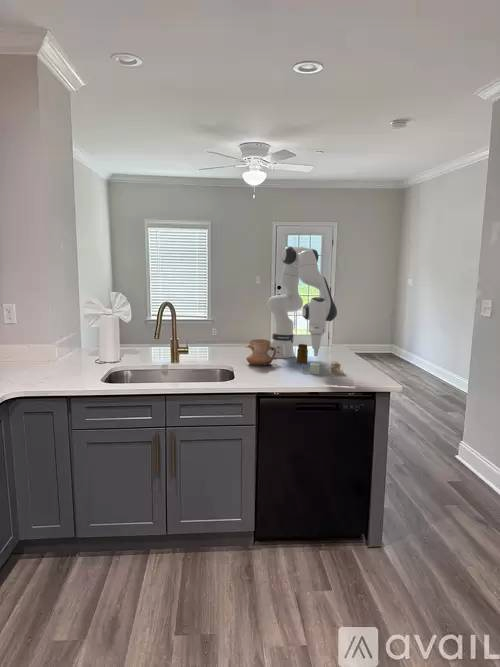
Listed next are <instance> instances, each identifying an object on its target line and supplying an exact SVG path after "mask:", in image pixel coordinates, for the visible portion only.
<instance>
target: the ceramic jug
mask: <svg viewBox="0 0 500 667" xmlns="http://www.w3.org/2000/svg"><path fill="white" fill-rule="evenodd" d="M270 343H271V339H265V338H257V339H256V338H255V339H254V338H253V339H249V344H246V345H245V348H246V349H247V348H249V349H250V350H251V352H252V353H251V354H249V355H248V356H247V357H246V361H247V363H248V364H250V365H253V366H256V367H257V366H259V367H260V366H261V367H263V366H267V365H270V364H271V363H272V362H273V361H274V359H275V358H274V356H275V355H276V348H275V347H274V346H270ZM272 348H273V349H274V354H273V356H272V357H271V356H269V355H268V354H267V352H268V350H270V349H272Z"/></svg>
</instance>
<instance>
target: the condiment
mask: <svg viewBox="0 0 500 667" xmlns="http://www.w3.org/2000/svg"><path fill="white" fill-rule="evenodd" d="M296 352H297V353H296V354H297V355H296V358H297V359H296V364H298V365H307V364H308V356H309V355H308V353H309V349H308V344H305V343H299V344H298V345H297V351H296Z"/></svg>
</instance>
